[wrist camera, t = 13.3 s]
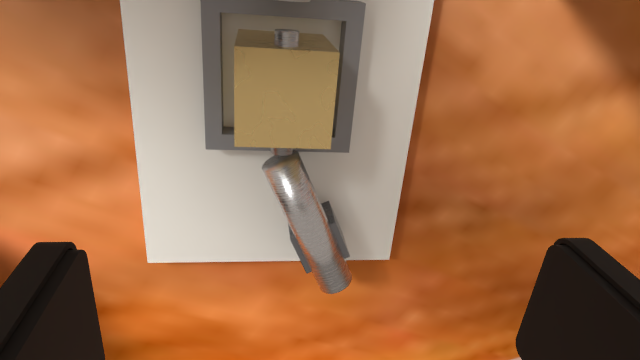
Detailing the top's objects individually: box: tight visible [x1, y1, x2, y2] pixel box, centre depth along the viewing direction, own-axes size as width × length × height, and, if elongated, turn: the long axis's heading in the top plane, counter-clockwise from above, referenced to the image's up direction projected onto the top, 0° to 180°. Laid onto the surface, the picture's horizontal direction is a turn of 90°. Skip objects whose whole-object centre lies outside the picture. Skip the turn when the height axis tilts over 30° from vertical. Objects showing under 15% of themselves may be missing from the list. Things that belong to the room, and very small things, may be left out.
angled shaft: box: [262, 150, 352, 294], centre depth 30 cm, size 10×3×4 cm, turn 20°
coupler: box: [234, 29, 340, 156], centre depth 25 cm, size 6×5×6 cm
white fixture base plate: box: [120, 0, 434, 263], centre depth 26 cm, size 28×18×6 cm, turn 175°
